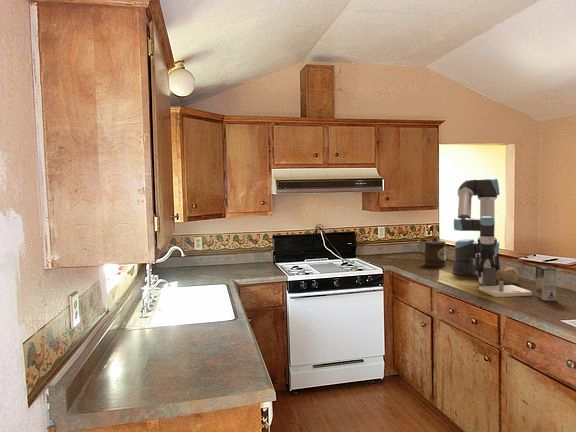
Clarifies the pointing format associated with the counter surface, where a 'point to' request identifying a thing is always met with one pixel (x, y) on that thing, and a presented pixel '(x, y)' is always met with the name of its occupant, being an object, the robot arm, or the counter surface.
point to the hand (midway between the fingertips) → (487, 282)
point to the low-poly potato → (507, 275)
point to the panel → (505, 290)
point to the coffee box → (546, 282)
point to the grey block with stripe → (488, 276)
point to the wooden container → (435, 253)
